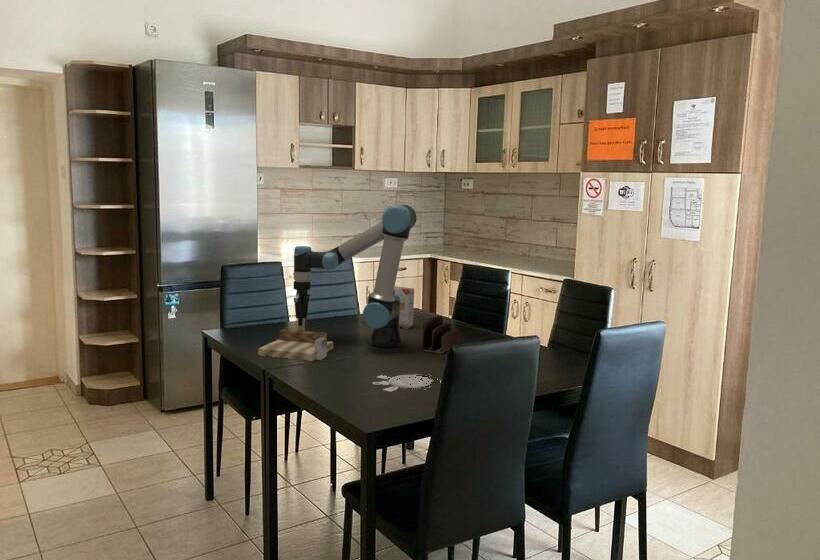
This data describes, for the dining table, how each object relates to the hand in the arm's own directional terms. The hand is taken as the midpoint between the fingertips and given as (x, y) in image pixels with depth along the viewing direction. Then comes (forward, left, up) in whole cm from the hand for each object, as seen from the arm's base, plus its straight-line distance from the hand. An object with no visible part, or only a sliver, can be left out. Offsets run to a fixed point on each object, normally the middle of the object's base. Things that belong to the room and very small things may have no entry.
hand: (301, 332), depth 302 cm
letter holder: (-62, -15, -5) cm, 64 cm away
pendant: (-62, +43, -6) cm, 76 cm away
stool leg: (-5, +8, -2) cm, 9 cm away
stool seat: (-5, +16, -5) cm, 18 cm away
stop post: (-18, +22, -5) cm, 29 cm away
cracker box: (-31, -54, -5) cm, 63 cm away
